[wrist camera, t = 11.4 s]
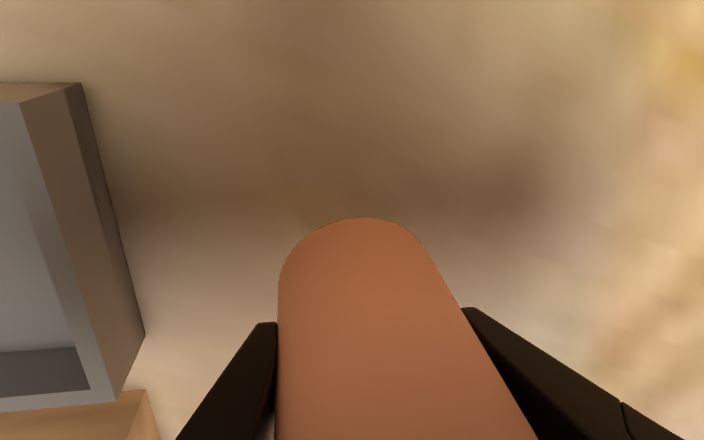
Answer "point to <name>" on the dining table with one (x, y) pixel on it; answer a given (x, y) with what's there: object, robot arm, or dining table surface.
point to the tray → (59, 257)
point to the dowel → (380, 345)
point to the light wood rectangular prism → (84, 421)
